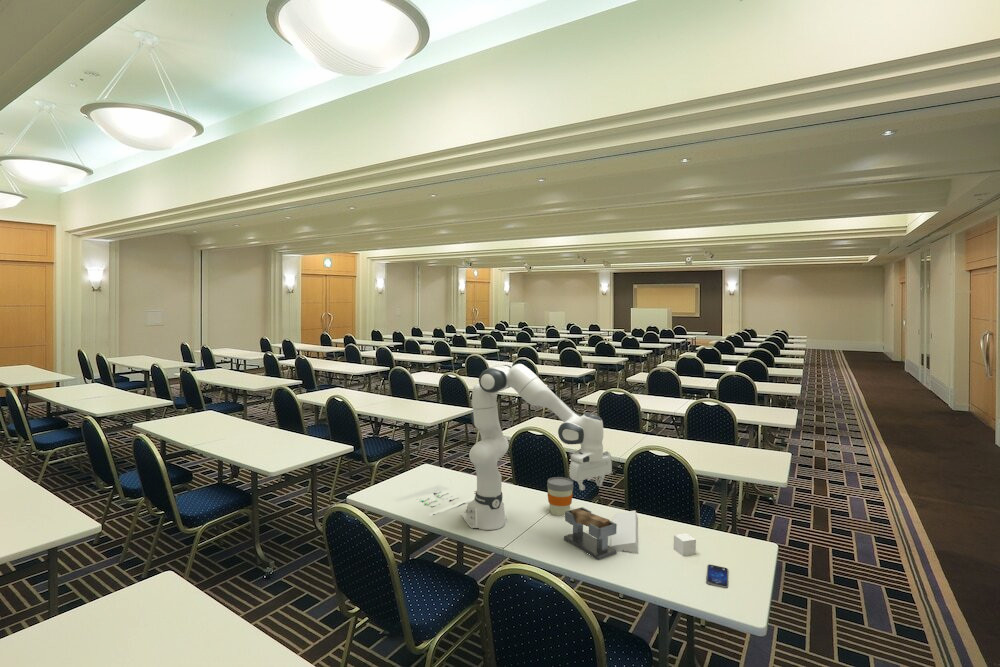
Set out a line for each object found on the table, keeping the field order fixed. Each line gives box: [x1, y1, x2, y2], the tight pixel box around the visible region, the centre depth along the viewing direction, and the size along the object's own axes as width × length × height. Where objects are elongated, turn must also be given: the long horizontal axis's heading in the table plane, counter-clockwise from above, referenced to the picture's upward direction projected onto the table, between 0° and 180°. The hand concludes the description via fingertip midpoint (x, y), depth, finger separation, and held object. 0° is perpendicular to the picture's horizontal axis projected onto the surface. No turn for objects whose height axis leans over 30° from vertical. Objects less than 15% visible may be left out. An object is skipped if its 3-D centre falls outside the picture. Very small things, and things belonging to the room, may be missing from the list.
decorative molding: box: [610, 510, 639, 554], centre depth 222 cm, size 34×5×10 cm
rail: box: [571, 507, 611, 528], centre depth 209 cm, size 16×4×4 cm, turn 44°
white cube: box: [673, 532, 697, 557], centre depth 207 cm, size 6×6×6 cm
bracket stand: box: [563, 506, 618, 561], centre depth 210 cm, size 21×10×12 cm, turn 33°
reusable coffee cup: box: [546, 476, 574, 517], centre depth 245 cm, size 13×12×15 cm
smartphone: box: [705, 564, 729, 589], centre depth 187 cm, size 7×1×15 cm
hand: (590, 487), depth 209 cm, fingers open, 8 cm apart
